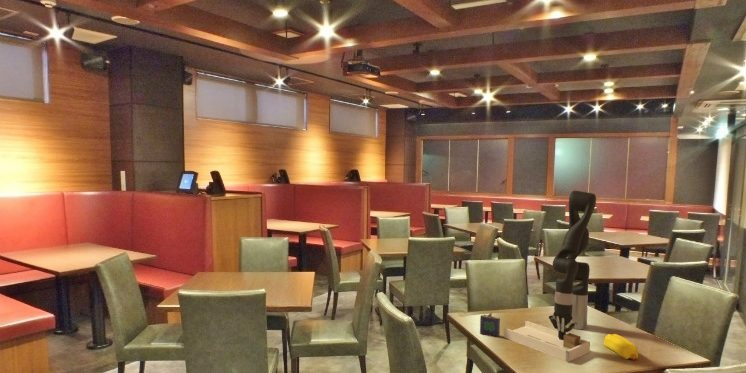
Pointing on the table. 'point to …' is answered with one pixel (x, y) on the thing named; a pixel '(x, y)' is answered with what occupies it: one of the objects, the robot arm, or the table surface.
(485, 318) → the flask
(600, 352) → the table surface
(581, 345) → the track
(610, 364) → the table surface
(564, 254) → the robot arm
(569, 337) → the walnut block
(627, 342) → the yellow banana
